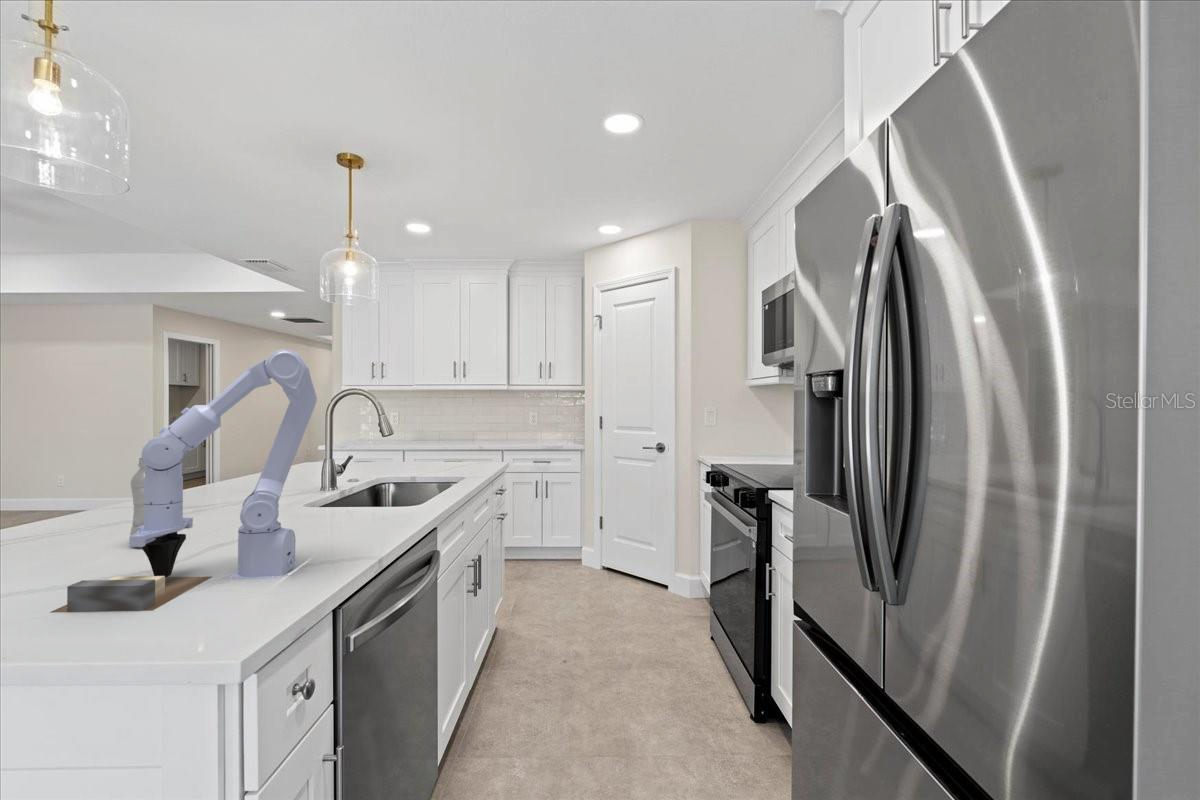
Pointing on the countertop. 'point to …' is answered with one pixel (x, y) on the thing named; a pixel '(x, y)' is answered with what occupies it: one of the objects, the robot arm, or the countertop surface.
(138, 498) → the plastic bottle
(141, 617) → the countertop surface
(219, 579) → the countertop surface
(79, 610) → the board
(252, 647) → the countertop surface
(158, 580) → the cream wooden block
